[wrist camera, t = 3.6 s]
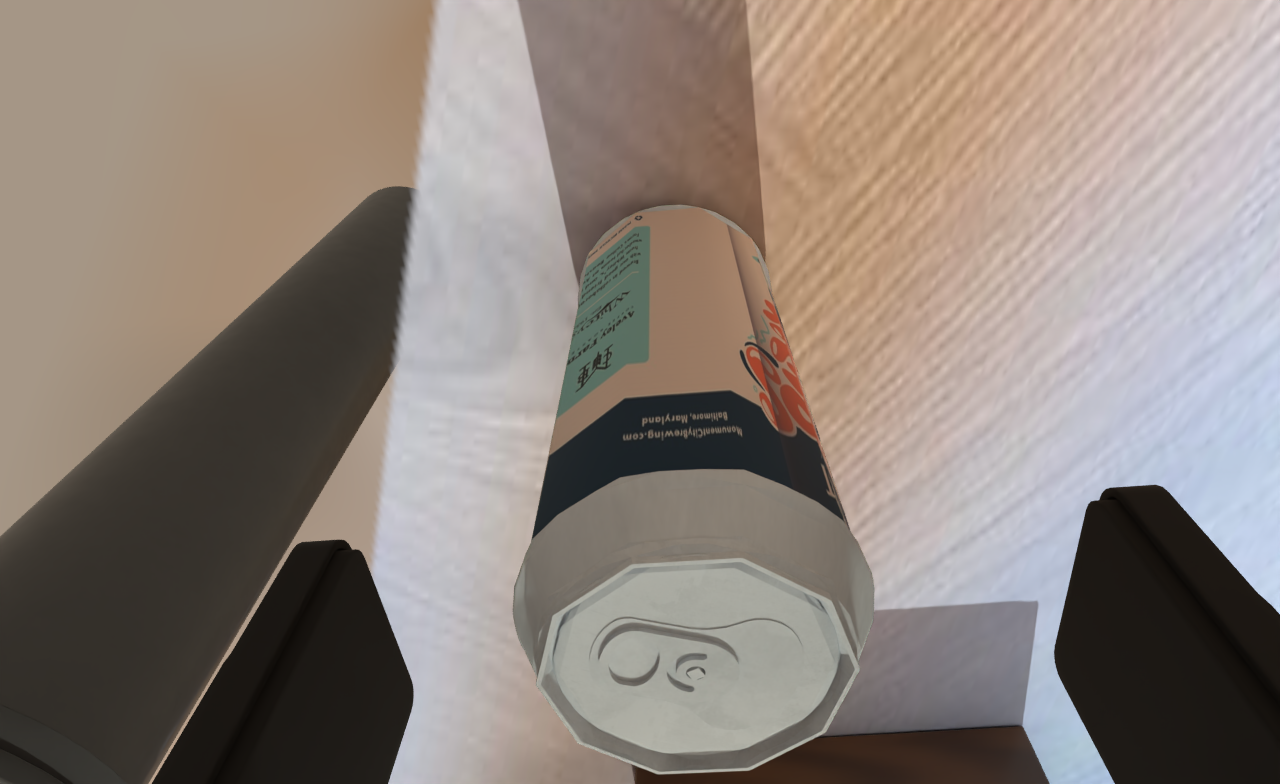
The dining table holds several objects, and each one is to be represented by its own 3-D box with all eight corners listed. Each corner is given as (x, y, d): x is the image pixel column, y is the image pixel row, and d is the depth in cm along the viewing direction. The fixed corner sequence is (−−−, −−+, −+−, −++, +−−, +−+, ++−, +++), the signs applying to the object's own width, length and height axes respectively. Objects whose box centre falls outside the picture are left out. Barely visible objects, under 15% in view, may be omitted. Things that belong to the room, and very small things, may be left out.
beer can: (737, 389, 21) (816, 817, 11) (564, 353, 21) (478, 766, 11) (793, 222, 19) (962, 568, 9) (600, 177, 19) (534, 487, 8)
